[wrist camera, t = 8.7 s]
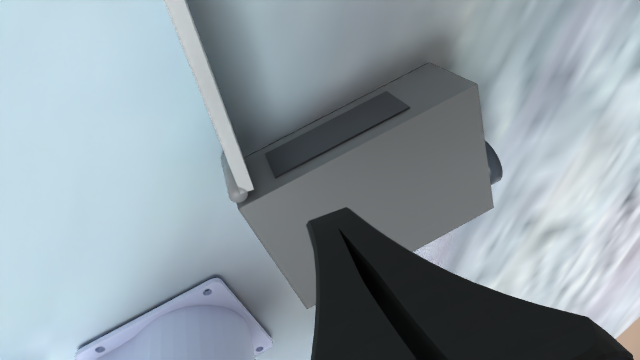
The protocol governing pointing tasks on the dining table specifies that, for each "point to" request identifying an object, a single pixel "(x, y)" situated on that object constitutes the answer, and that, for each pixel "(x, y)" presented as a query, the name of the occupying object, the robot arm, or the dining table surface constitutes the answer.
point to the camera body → (375, 170)
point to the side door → (211, 101)
